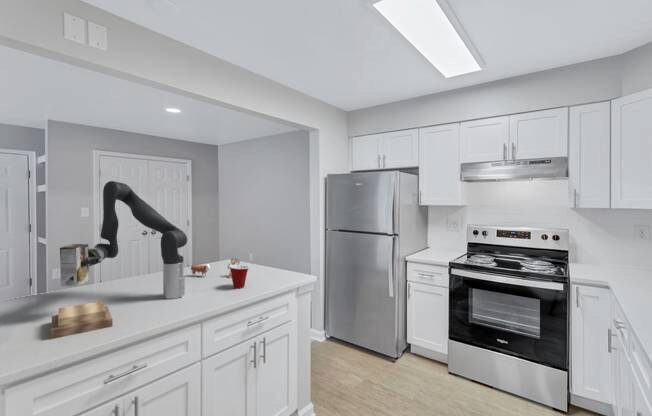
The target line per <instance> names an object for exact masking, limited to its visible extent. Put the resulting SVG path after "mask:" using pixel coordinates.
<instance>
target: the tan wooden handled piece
mask: <svg viewBox="0 0 652 416" xmlns="http://www.w3.org/2000/svg"><path fill="white" fill-rule="evenodd" d="M231 265H240V259H237V258H236V257H231V259H230V263H229V264H228V265H227V269H228V270H229V272H228V275H225V278H227V279H232V275H231V270H230V267H229V266H231Z"/></svg>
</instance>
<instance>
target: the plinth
mask: <svg viewBox="0 0 652 416" xmlns="http://www.w3.org/2000/svg"><path fill="white" fill-rule="evenodd" d="M111 327H113V316H112V314H111V311H110V308H109V306H108V305H104V303H103V301H94V302H90V303H83V304H76V305H71V306H65V307H59V308H58V313H57V314H53V315H51V326H50V339H51V340H53V339H58V338H62V337H68V336H72V335H77V334H82V333H86V332H91V331H97V330H102V329H106V328H111Z"/></svg>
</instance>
